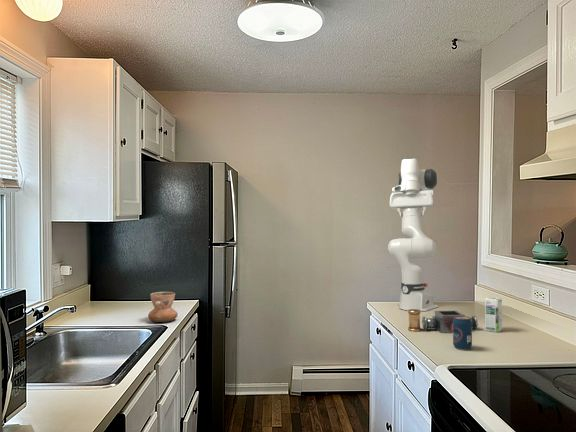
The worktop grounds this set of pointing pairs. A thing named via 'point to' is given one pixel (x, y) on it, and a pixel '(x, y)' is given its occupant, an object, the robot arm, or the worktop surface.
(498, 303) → the syrup box
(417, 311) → the copper flared cylinder
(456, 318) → the soda can
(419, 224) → the robot arm
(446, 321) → the valve body
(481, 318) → the worktop surface
